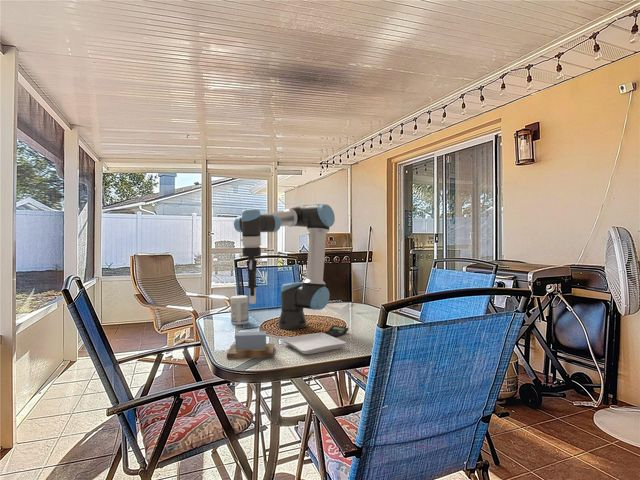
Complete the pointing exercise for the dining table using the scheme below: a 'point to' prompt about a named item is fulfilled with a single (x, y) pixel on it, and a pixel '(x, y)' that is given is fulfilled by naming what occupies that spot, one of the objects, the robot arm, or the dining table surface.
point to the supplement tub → (239, 310)
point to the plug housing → (250, 340)
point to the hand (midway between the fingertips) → (252, 303)
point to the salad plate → (314, 343)
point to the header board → (251, 352)
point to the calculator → (336, 331)
